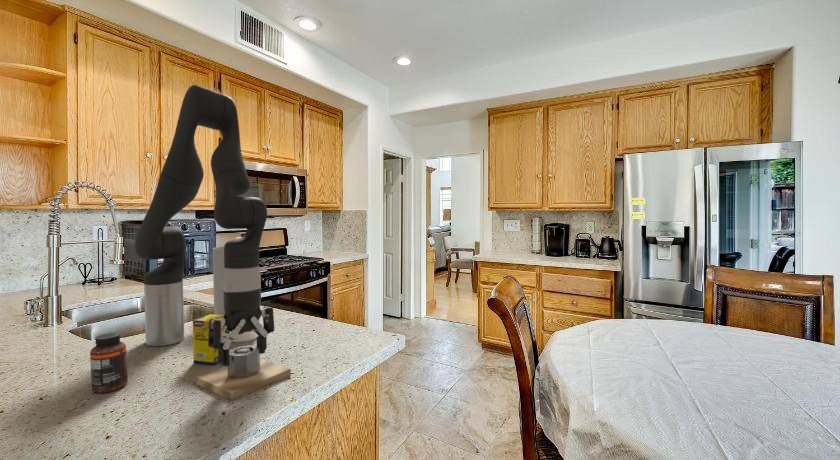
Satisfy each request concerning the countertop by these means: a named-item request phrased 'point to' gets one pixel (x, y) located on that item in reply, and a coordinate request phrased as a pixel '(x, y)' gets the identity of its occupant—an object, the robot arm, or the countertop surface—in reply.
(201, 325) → the supplement box
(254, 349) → the ring
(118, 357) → the supplement bottle
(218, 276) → the cylinder vase
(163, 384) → the countertop surface
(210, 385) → the shaft stand
